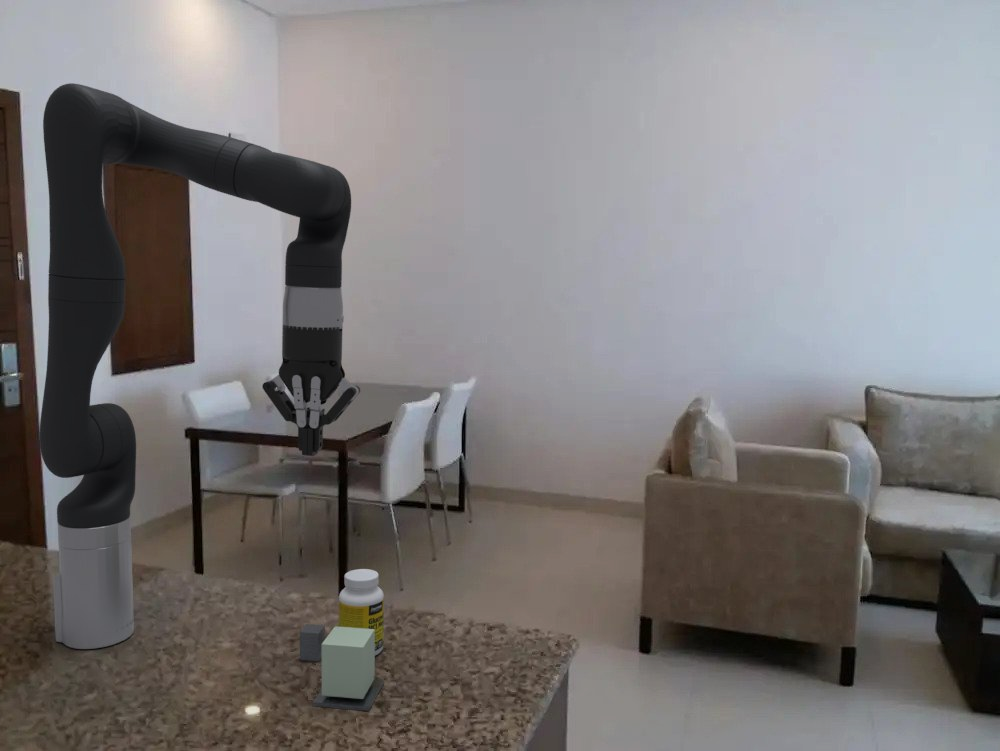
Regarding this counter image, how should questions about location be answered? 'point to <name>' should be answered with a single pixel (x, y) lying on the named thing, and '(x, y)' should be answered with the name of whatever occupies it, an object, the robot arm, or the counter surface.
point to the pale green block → (348, 662)
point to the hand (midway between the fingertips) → (310, 454)
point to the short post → (311, 642)
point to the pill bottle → (363, 603)
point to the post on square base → (351, 699)
